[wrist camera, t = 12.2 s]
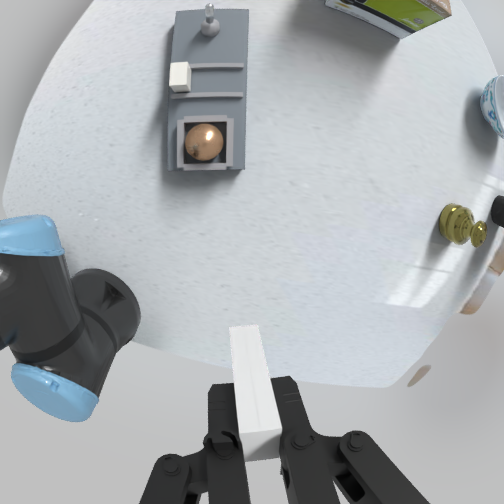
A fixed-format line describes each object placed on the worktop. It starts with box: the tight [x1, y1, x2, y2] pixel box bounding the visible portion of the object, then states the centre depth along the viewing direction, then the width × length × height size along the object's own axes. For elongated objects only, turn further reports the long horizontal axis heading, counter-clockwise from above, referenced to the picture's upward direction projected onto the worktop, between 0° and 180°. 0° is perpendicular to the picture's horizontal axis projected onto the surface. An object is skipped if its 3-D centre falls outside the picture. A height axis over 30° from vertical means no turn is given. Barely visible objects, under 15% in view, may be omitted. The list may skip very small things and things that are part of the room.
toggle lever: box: [205, 4, 214, 24], centre depth 22 cm, size 1×1×4 cm
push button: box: [185, 124, 223, 161], centre depth 30 cm, size 4×4×2 cm
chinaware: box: [480, 75, 504, 139], centre depth 31 cm, size 15×15×8 cm
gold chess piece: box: [439, 203, 487, 248], centre depth 39 cm, size 7×7×10 cm
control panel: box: [168, 9, 249, 171], centre depth 30 cm, size 10×24×5 cm, turn 179°
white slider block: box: [169, 62, 192, 93], centre depth 27 cm, size 2×3×4 cm, turn 179°
